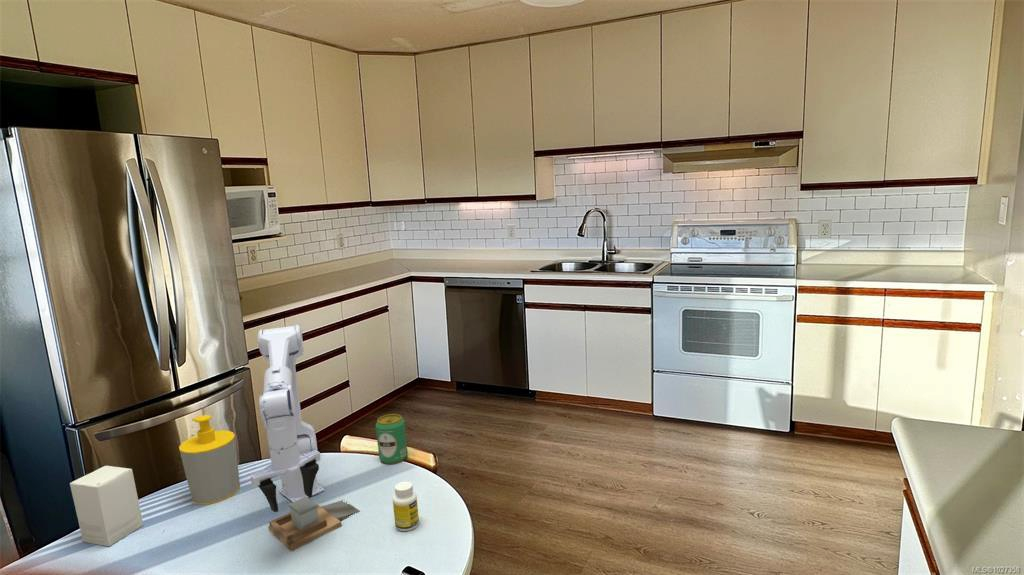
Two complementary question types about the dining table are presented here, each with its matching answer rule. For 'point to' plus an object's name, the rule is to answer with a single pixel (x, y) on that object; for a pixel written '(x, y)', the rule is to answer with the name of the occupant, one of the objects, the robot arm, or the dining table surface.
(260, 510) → the dining table surface
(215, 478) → the soap bottle
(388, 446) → the beverage can
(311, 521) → the grey lidded box
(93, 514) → the supplement box
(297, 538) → the dock
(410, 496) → the supplement bottle
